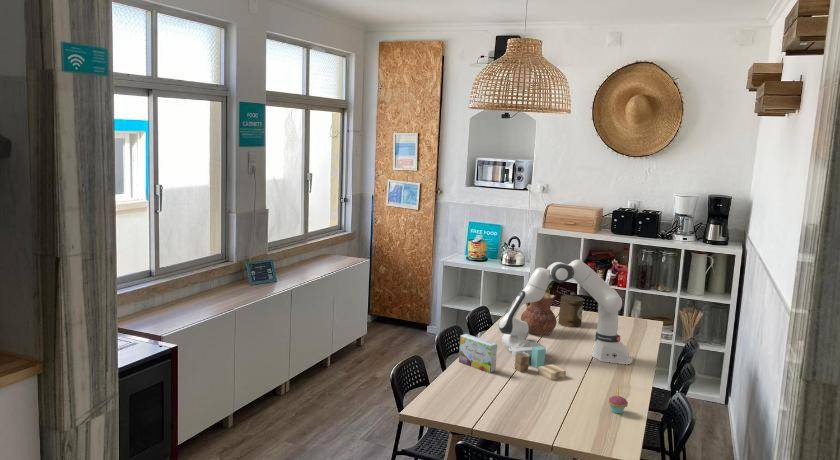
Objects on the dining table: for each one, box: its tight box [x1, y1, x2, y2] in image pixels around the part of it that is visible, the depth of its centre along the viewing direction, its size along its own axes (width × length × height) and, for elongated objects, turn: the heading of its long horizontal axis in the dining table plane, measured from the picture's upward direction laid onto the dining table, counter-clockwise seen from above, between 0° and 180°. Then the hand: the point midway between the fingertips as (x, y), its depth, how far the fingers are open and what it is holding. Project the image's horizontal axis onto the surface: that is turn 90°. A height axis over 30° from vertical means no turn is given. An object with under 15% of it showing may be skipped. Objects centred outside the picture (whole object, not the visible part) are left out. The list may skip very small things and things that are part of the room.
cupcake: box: [608, 386, 629, 414], centre depth 303 cm, size 9×8×12 cm
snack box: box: [458, 333, 498, 374], centre depth 351 cm, size 21×6×15 cm, turn 47°
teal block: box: [530, 346, 547, 369], centre depth 358 cm, size 5×5×10 cm
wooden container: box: [558, 291, 584, 328], centre depth 441 cm, size 15×15×22 cm
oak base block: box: [537, 363, 567, 381], centre depth 345 cm, size 10×10×4 cm
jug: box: [520, 291, 557, 336], centre depth 418 cm, size 22×21×25 cm
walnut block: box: [514, 354, 530, 373], centre depth 350 cm, size 5×5×8 cm
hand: (536, 355), depth 359 cm, fingers open, 8 cm apart
